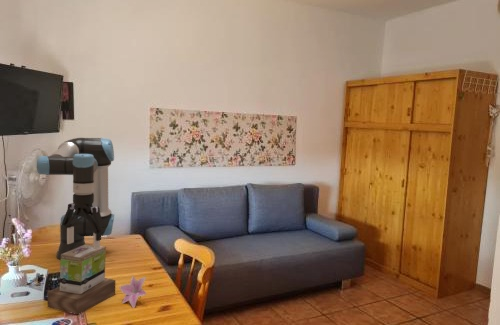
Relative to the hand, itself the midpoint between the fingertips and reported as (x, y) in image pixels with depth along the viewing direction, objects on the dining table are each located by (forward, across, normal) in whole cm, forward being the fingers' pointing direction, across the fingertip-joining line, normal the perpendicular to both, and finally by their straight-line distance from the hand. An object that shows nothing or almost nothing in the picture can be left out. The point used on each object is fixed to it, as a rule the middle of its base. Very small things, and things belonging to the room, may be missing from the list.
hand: (83, 245), depth 147 cm
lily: (+22, +19, +7) cm, 30 cm away
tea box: (+16, 0, 0) cm, 17 cm away
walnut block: (+22, 0, 0) cm, 22 cm away
